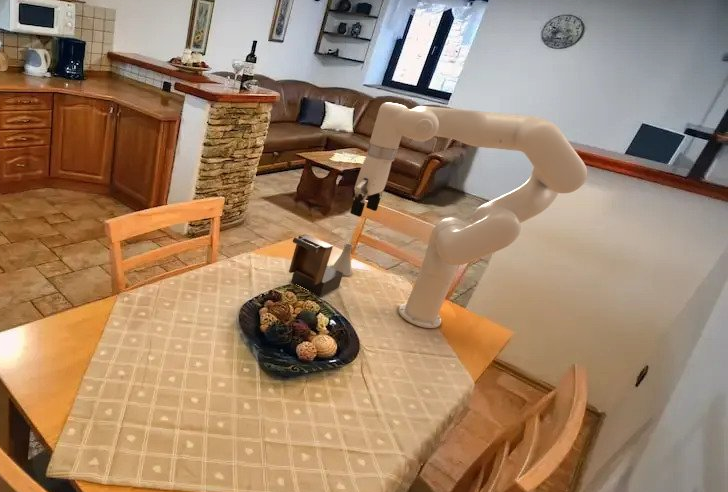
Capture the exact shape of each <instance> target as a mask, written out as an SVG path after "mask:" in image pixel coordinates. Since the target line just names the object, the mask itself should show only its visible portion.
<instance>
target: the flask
mask: <svg viewBox="0 0 728 492" xmlns="http://www.w3.org/2000/svg"><path fill="white" fill-rule="evenodd" d="M353 249H354V245H353V244H351V243H348V242H347V243H346V242H344V245H343V250H342V252H341V254H340V256H339V257H338V258H337V259H336V261H335V262H334V263H333V265H332V266H331V268H333V269H335V270H337V271H339V272H342V273H343V275H342V276H351V274H352V272H353V271H352V258H351V256H352V250H353Z"/></svg>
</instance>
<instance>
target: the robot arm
mask: <svg viewBox="0 0 728 492" xmlns="http://www.w3.org/2000/svg"><path fill="white" fill-rule="evenodd" d="M371 133H372V134H371V136H370V140H369V142H368V147H367V150H366V154H365V158H364V160H363V162H362V165H361V168H360V169H359V173H358V175H357V179H356V181H355V184H354V189H353V190H354V194H353V202H352V205H351V208H350V214H351V215H353V216H356V217H358V218H360V217H362V214H363V212H364V208H366V209H368V210H371V211H374V212H376V211H378V208H379V205H380V201H381V199H382V197H383V192H384V191H385V187H386V185H387V183H388V178H389V175H390V171H391V168H392V162H394V161H395V159H396V155H397V152H398V150H399V146H400V143H401V140H402V137H405V138H407V139H411V140H412V141H413V140H414V141H416V142H426V141H429V140H431V139H432V138H434V137H438V138H439V137H440V138H445V139H449V140H450V139H451V140H454V141H458V142H460V143H462V144H465V145H468V146H472V147H476V148H485V149H496V150H497V149H498V150H506V151H515V152H516V151H517V152H522V153H523V154H524V155H525V156H526V158H527V159H528V160H529V162H530V163H531V165H532V166H533V169H532V172H531V173H530V176H529V178H528V179H527V180H526V181H525V183H523V184H522V185H521V186H519V187H517V188H515V189H514V190H512V191H510V192H508V193H506V194H503V195H501V196H500V197H497V198H495V199H493V200H491V201H488V202H486V203H483V204H482V205H480V206H478V207H477V208H476V209H475V210H474V211H473V213H472V217H471V221H472V224H470V225H467V224H466V223H465V222H464V221H463V220H461V219H459V218H456V217H446V218H444V219H442V220H440V221H438V222H437V223H436V224H435V226H434V227H433V228H432V231H431V234H430V237H429V240H428V243H427V247H426V251H425V255H424V257H423V260H422V262H421V265H420V267H419V270H418V273H417V275H416V277H415V281H414V283H413V287H412V289H411V291H410V294H409V295H408V298H407V302H406V303H402V304H400V305H399V308H398V314H399V315H400V316H401V317H402V318H403V319H404V320H405V321H407V322H408V323H410V324H412V325H414V326H418V327H420V328H425V329H436V328H438V327H440V326H441V325H442V321H443V319H442V318H441V316H440V315H439V314H440V312H441V310H442V308H443V306H444V303H445V301H446V298H447V295H448V293H449V291H450V288H451V286H452V284H453V282H454V279H455V277H456V274H457V272H458V269H459V266H463V265H466V264H469V263H472V262H476V261H477V260H479V259H482V258H484V257H486V256H489V255H492V254H494V253H497V252H498V251H501V250H503V249H505V248H507V247H508V246H510V245H512V244H513V243H514V242H515V241H516V240H517V238H518V237H519V235H520V232H521V229H522V225H521V223H524V222H526V221H528V220H529V219H531V218H535V217H536V216H538V215H539V214H542V213H543V212H544V211H546V210H547V209H548V208H549V207H550V206H551V205H552V204H553V203H554V201H555V199H557V197H558V195H559V194H570V193H573V192H575V191H577V190H579V189H580V188H581V187H582V186H583V185H584V184H585V182H586V181H587V178H588V169H587V168H588V167H587V165H586V164H585V162H584V161H583V159H582V158H581V157H580V155H579V154H578V153H577V151H576V150H575V149H574V147H573V146H572V144H571V143H570V142H569V140H568V139H567V137H566V136H565V135H564V134H563V132H562V131H561V129H560V128H559V127H558V126H557V125H556V124H555V123H553V122H552V121H549V120H547V119H545V118H543V117H540V116H535V115H525V114H516V113H515V114H513V113H501V112H493V111H492V112H491V111H480V110H470V109H469V110H467V109H458V108H449V107H441V106H440V107H439V106H428V105H419V106H415V107H413V108H411V109H410V108H408V107H407V106H406V105H403V104H399V103H393V102H383V103H382V104H381V105H380V107H379V109H378V112H377V115H376V118H375V122H374V126H373V129H372V132H371ZM367 198H368V199H367ZM366 199H367V203H365V201H366ZM365 205H366V206H365Z"/></svg>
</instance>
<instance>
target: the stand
mask: <svg viewBox="0 0 728 492" xmlns="http://www.w3.org/2000/svg"><path fill="white" fill-rule="evenodd" d="M343 276H344V275H343V273H342V272H339V271H337V270H335V269H333V268H332V266H328V265H327V267H326V270H325V274H324V277H323V280H322V282H321V283H319V284H316V285H314V284H313V281H312V280H310V279H308V278H306V277H304V276H302V275H299V274H297V273H295V272H293V273H292V277H291V281H290V283H291V284H293V285H295V284H297V285H299V286H301V287H303V288H305V289H307V290H309V291H311V292H312V293H311V292H310V293H311V294H313V293H314V294H313V295H314V296H317V297H318V298H321V297H323V296H324V295H326V294H328V293H330V292H332V291H334V290H336V289H338V288H339V287H340V284H341V282H342V279H343ZM309 291H308V292H309Z"/></svg>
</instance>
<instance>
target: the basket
mask: <svg viewBox="0 0 728 492" xmlns="http://www.w3.org/2000/svg"><path fill="white" fill-rule="evenodd" d="M292 243H294V244H295V249H294V251H293V254H292V258H291V262H290V266H289V269H288V273H290V274H293V272H295V273H297V274H299V275H302V276H304V277H306V278H308V279H310V280H312V281H313V284H314V285H316V284H319V283H321V282H322V280H323V277H324V274H325V270H326V267H327V266H328V264H329V261H330V257H331V254H332V252H333V248H334V245H332V244H330V243H329V242H325V241H323V240H320V239H319V238H316V237H314V236H312V235H309V234H307V233H305V234H302V235H298V237H293V239H292Z"/></svg>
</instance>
